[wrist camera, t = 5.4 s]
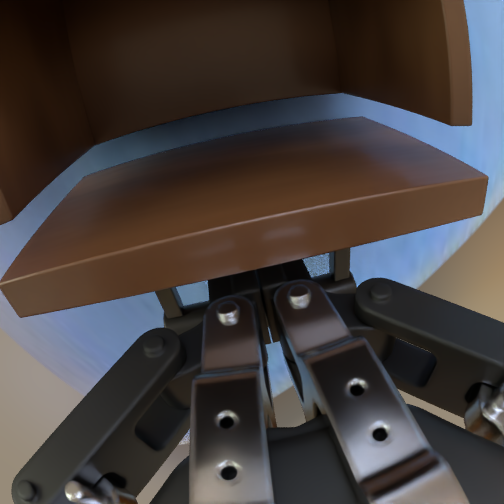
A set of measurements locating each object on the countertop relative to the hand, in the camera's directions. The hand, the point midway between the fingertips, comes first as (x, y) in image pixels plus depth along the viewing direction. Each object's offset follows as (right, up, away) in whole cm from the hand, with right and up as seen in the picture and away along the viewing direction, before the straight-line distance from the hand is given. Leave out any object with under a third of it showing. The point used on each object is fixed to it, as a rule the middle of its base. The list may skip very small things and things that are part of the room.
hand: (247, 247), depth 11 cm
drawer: (-2, +8, -1) cm, 8 cm away
